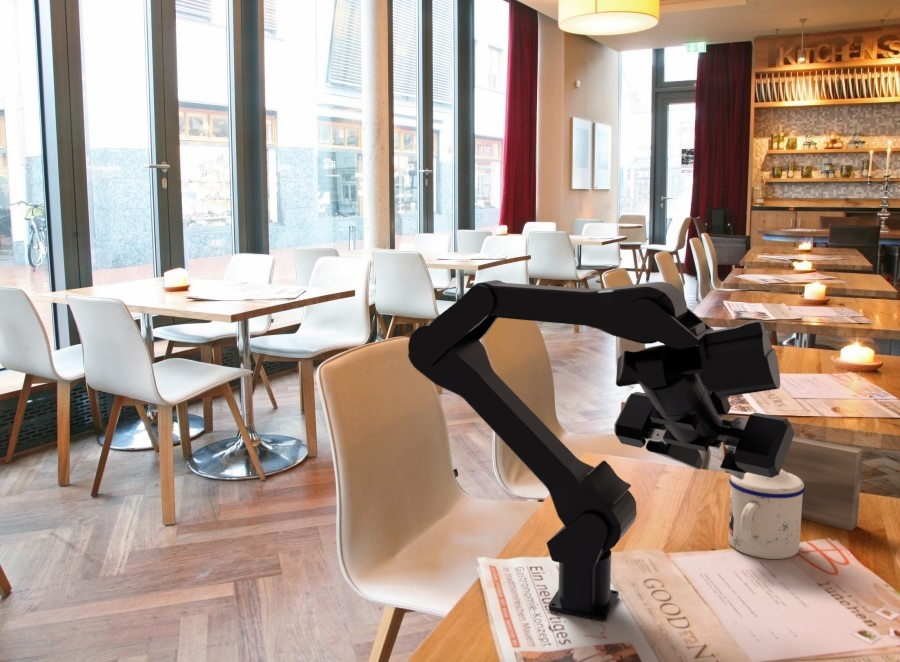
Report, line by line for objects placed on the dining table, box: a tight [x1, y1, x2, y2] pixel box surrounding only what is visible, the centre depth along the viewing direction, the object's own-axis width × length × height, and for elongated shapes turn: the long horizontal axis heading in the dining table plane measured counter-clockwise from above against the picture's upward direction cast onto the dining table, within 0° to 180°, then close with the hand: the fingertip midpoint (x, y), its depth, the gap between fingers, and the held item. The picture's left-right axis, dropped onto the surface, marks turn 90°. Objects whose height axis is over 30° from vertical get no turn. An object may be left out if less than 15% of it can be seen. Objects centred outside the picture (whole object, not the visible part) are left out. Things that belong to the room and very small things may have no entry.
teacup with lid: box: [727, 469, 805, 560], centre depth 102 cm, size 12×9×12 cm
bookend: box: [781, 435, 864, 532], centre depth 113 cm, size 2×13×11 cm, turn 46°
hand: (720, 470), depth 92 cm, fingers open, 5 cm apart
